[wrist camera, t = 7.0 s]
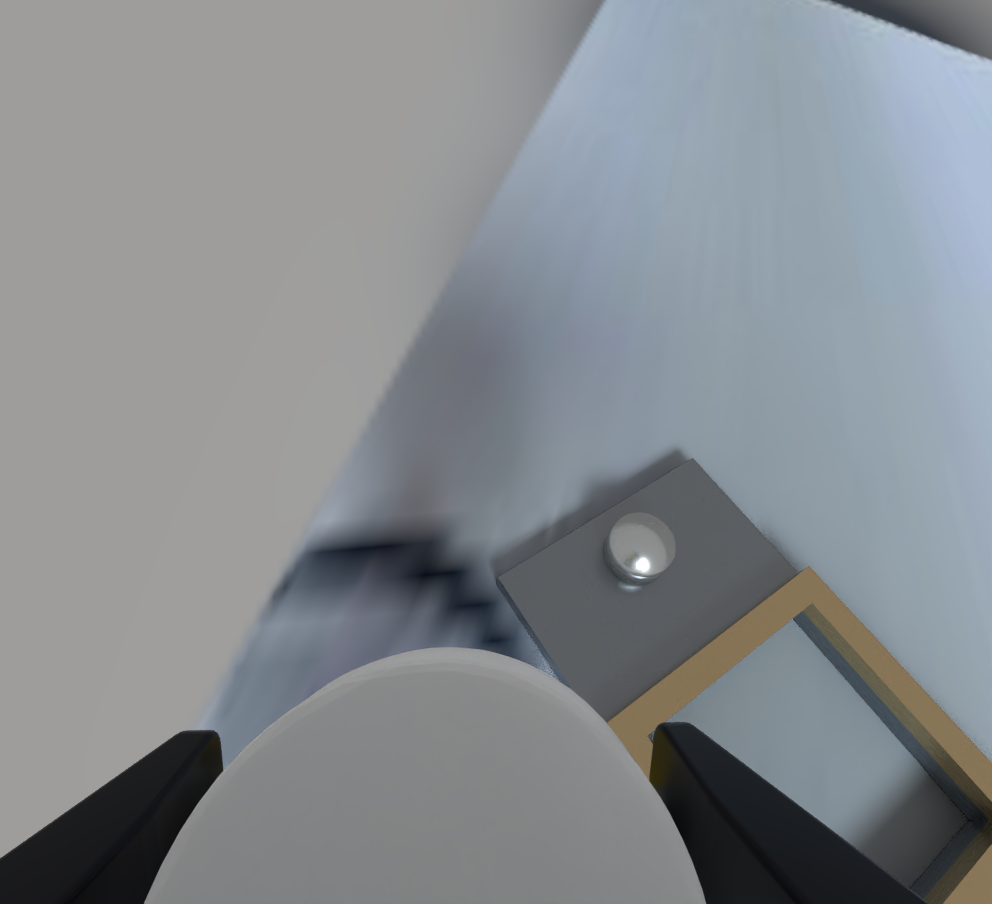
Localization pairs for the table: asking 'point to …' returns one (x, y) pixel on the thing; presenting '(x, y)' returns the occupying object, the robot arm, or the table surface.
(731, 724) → the table surface
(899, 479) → the table surface
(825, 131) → the table surface
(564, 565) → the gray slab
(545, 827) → the supplement bottle
